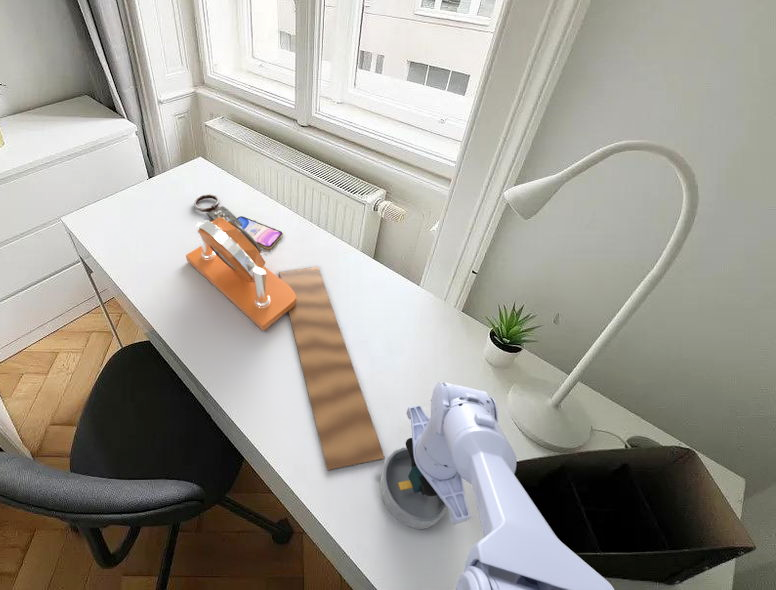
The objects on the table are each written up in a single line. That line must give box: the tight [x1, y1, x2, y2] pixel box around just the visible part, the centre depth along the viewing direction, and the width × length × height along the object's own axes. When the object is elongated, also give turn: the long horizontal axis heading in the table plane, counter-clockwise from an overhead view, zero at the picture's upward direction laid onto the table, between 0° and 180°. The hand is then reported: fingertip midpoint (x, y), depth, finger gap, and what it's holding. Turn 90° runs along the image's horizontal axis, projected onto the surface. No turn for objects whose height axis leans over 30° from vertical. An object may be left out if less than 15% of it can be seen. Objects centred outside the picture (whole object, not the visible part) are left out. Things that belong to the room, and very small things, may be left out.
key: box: [398, 466, 423, 493], centre depth 62 cm, size 6×2×4 cm, turn 100°
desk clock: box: [185, 217, 296, 332], centre depth 94 cm, size 12×30×20 cm, turn 43°
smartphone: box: [236, 215, 284, 250], centre depth 113 cm, size 8×15×1 cm, turn 58°
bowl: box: [379, 446, 449, 530], centre depth 64 cm, size 10×10×4 cm
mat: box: [278, 266, 385, 471], centre depth 85 cm, size 45×10×1 cm, turn 10°
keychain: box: [193, 193, 242, 226], centre depth 120 cm, size 8×19×2 cm, turn 36°
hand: (423, 480), depth 63 cm, fingers closed on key, 2 cm apart
